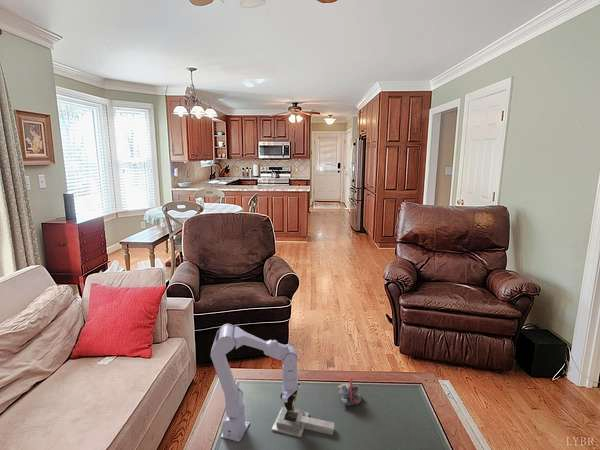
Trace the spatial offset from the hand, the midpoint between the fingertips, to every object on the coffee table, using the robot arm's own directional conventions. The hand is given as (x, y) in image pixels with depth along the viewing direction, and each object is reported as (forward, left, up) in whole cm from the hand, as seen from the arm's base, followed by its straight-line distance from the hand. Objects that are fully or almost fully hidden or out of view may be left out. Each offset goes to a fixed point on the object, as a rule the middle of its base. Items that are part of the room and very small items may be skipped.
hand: (290, 405), depth 140 cm
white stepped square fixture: (0, -6, -8) cm, 10 cm away
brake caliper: (+19, -21, -9) cm, 30 cm away
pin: (0, +1, -2) cm, 2 cm away
